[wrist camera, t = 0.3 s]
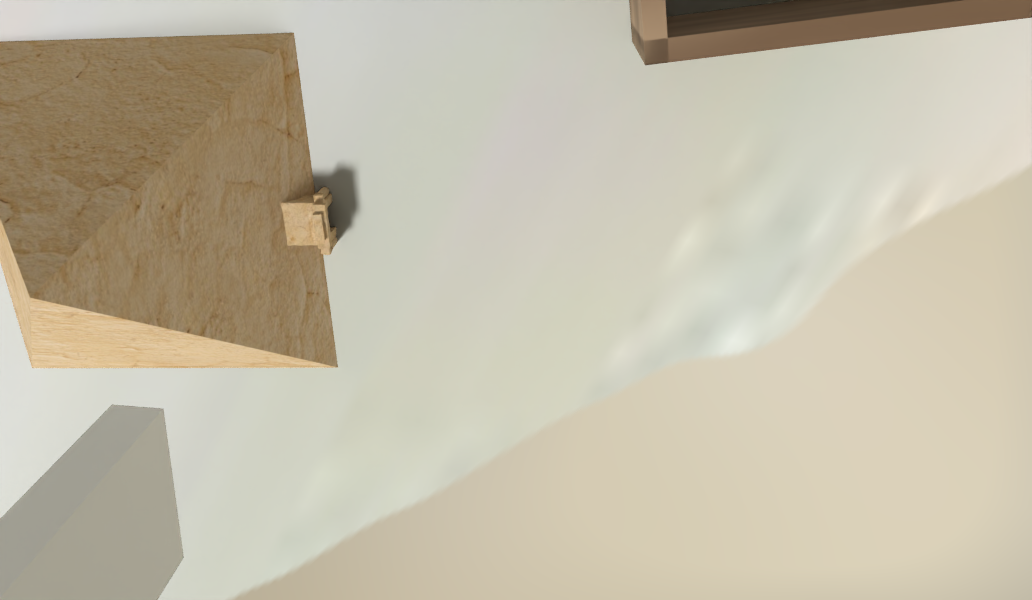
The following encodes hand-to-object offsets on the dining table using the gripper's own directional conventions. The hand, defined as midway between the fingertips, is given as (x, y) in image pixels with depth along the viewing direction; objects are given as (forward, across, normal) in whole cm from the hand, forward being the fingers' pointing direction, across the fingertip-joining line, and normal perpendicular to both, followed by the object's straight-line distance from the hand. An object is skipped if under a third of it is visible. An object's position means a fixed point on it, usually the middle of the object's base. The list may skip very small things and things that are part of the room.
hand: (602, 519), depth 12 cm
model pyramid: (+27, -20, -5) cm, 34 cm away
